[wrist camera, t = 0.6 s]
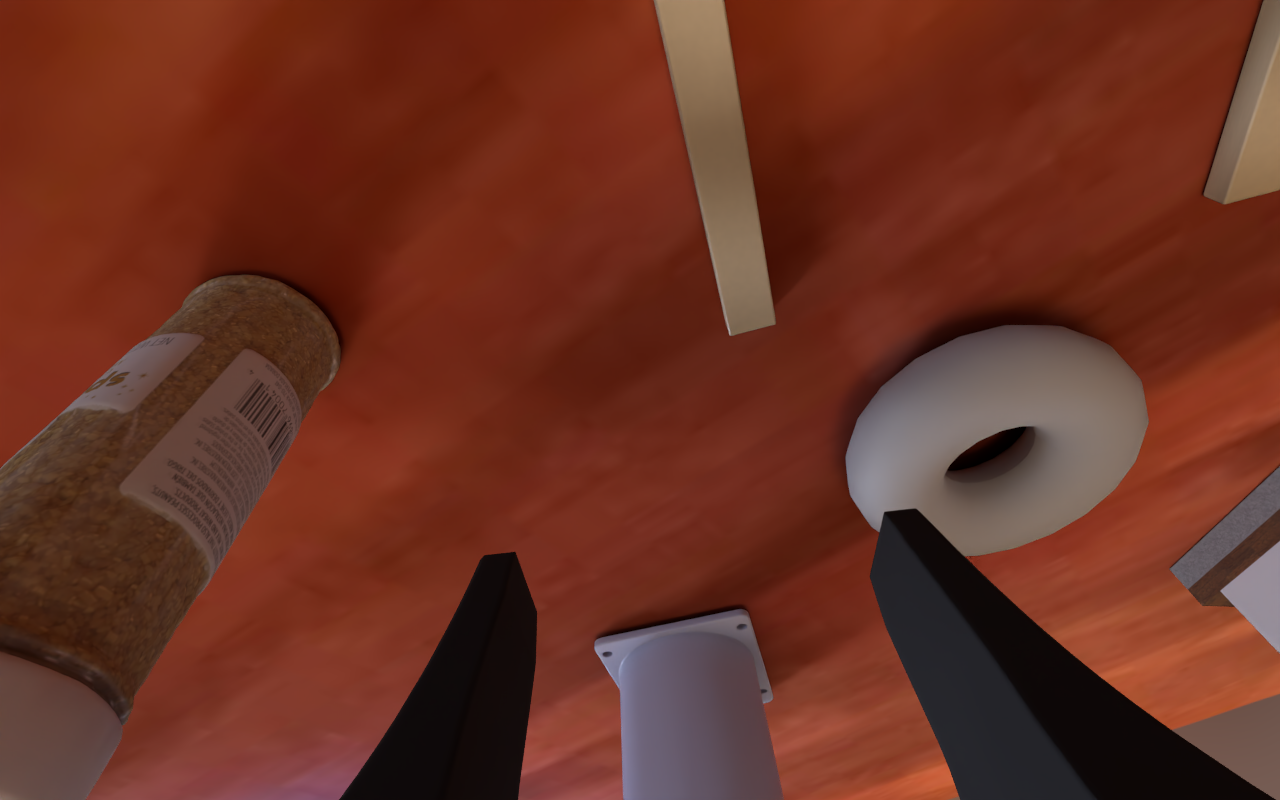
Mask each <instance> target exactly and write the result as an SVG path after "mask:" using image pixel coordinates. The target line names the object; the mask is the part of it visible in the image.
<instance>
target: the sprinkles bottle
mask: <svg viewBox="0 0 1280 800" xmlns="http://www.w3.org/2000/svg"><path fill="white" fill-rule="evenodd" d="M338 341H339V340H338V336H337V334H336V332H335V330H334V328H333V327H332V325H331V323H330V322H329V320H328V318H327V317H326V315H325V314H324V313H323V312H322V311H321V310H320V309H319V308H318V306H316V305H315V304H314V303H313V302H312V301H311V300H310V299H308V298H307V297H305V296H303V295H302V294H300V293H299V292H297V291H296V290H294V289H293V288H291V287H289V286H287V285H285V284H283V283H282V282H280V281H278V280H273V279H269V278H264V277H261V276H257V275H247V274H246V275H230V276H221V277H218V278H214V279H211V280H209V281H207V282H205V283H203V284H201V285H200V286H198V287H196V288H195V289H194V290H193V291H192V292H191V293H190V294H189V295H188V297H187V298H186V299H185V300H184V303H183V306H182V308H181V309H180V310H178V311H177V312H176V313H175V314H174V315H172V316H171V317H170V318H169V319H168V320H167V321H166V322H165V323H164V324H163V325H162V326H161V328H159V329H158V330H156V331H155V332H154V333H153V334H152V335H151V336H150V337H148V338H147V339H146V340H145V341H143V342H141V343H139V344H138V345H136V346H134V347H133V348H132V349H131V350H130V351H129V352H128V353H127V354H126V355H125V356H123V357H122V358H121V359H120V360H119V361H118V362H117V363H116V364H115V365H114V366H112V367H111V368H110V369H109V370H108V371H107V372H106V373H105V374H104V375H103V376H101V377H100V378H99V379H98V380H97V381H96V382H95V383H94V384H93V385H92V386H91V387H89V388H88V389H87V390H86V391H85V392H84V393H83V394H82V395H81V396H80V397H79V398H78V399H76V400H75V401H74V402H73V403H72V404H71V405H70V406H69V407H67V408H66V409H65V410H64V411H63V412H62V413H61V414H60V415H59V416H58V417H56V418H55V419H54V420H53V421H52V422H51V423H50V424H49V425H48V426H47V427H45V428H44V429H43V430H42V431H41V432H40V433H39V434H38V435H36V436H35V437H34V438H33V439H32V440H31V441H30V442H29V443H28V444H26V445H25V446H24V447H23V448H22V449H21V450H20V451H19V452H18V453H16V454H15V455H14V456H13V457H12V458H11V459H10V460H9V461H8V462H6V463H5V464H4V465H3V466H2V467H1V469H0V800H85V799H86V798H87V796H88V795H89V793H90V792H91V790H92V788H93V787H94V785H95V784H96V782H97V780H98V779H99V777H100V775H101V773H102V772H103V770H104V768H105V767H106V765H107V763H108V761H109V760H110V758H111V756H112V755H113V753H114V751H115V749H116V748H117V746H118V744H119V742H120V741H121V737H122V732H123V729H122V725H124V724H125V723H126V722H127V720H128V717H129V715H130V713H131V711H132V709H133V700H134V696H135V695H136V694H137V692H138V690H139V689H140V687H141V686H142V684H143V683H144V682H145V680H146V679H147V677H148V675H149V673H150V671H151V669H152V667H153V666H154V665H155V663H156V661H157V660H158V658H159V657H160V655H161V654H162V652H163V650H164V649H165V647H166V645H167V643H168V642H169V641H170V639H171V637H172V635H173V633H174V631H175V629H176V628H177V627H178V625H179V624H180V623H181V622H182V620H183V618H184V617H185V615H186V613H187V612H188V610H189V608H190V607H191V605H192V604H193V602H194V601H195V599H196V597H197V596H198V595H199V594H200V593H201V592H202V591H203V590H204V589H205V587H206V586H207V585H208V583H209V582H210V580H211V578H212V577H213V575H214V573H215V572H216V570H217V568H218V567H219V565H220V563H221V562H222V560H223V558H224V557H225V555H226V553H227V552H228V550H229V548H230V547H231V545H232V543H233V542H234V540H235V538H236V537H237V535H238V533H239V532H240V530H241V528H242V527H243V525H244V523H245V522H246V520H247V518H248V517H249V515H250V513H251V512H252V510H253V508H254V507H255V505H256V503H257V502H258V500H259V498H260V497H261V495H262V494H263V492H264V490H265V489H266V487H267V485H268V483H269V482H270V480H271V478H272V477H273V475H274V473H275V471H276V470H277V468H278V466H279V465H280V463H281V461H282V460H283V458H284V456H285V455H286V453H287V451H288V450H289V448H290V446H291V444H292V443H293V441H294V439H295V437H296V436H297V434H298V432H299V428H300V425H301V422H302V421H303V419H304V418H305V417H306V415H307V413H308V411H309V409H310V408H311V406H312V404H313V402H314V400H315V398H316V397H317V395H318V394H319V392H320V391H321V390H323V389H325V388H326V387H327V386H328V384H330V383H331V382H332V380H333V379H334V377H335V375H336V373H337V371H338V369H339V366H340V355H341V350H340V345H339V343H338Z"/></svg>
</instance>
